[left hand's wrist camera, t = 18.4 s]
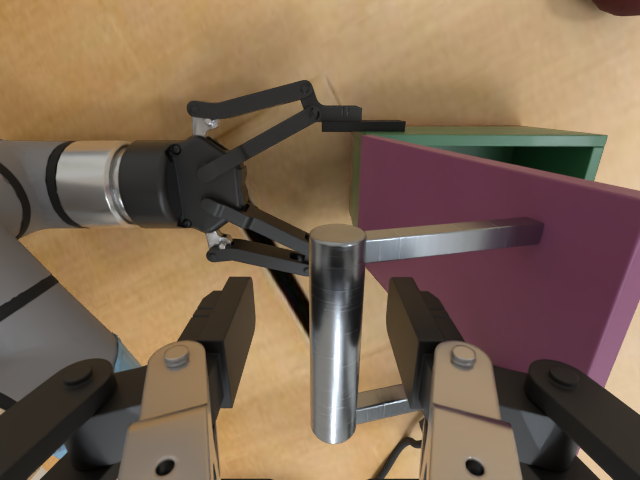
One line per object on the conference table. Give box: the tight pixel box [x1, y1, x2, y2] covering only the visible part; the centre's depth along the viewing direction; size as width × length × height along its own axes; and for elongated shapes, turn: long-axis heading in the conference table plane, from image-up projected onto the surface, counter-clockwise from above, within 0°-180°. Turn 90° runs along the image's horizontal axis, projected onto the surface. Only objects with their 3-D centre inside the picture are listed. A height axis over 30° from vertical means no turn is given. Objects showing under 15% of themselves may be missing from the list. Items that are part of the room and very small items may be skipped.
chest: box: [350, 125, 608, 227], centre depth 31 cm, size 17×9×11 cm, turn 90°
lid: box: [309, 135, 640, 456], centre depth 17 cm, size 18×9×8 cm
